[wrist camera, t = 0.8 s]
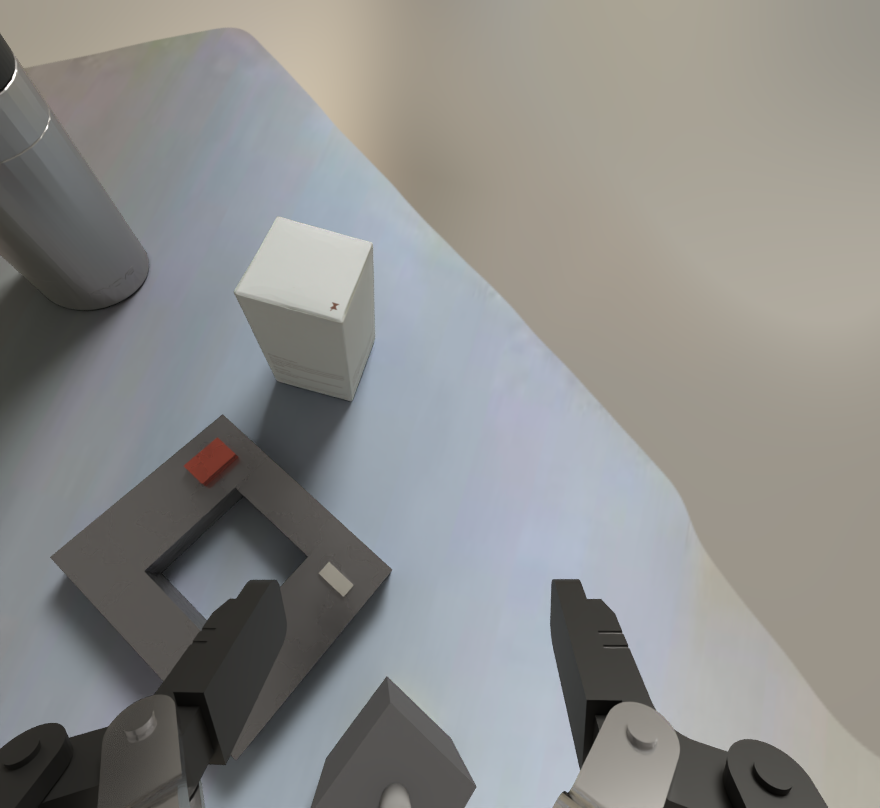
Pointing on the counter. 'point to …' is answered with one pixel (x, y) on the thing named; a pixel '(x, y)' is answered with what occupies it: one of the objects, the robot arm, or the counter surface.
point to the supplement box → (312, 306)
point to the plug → (393, 760)
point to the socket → (182, 522)
